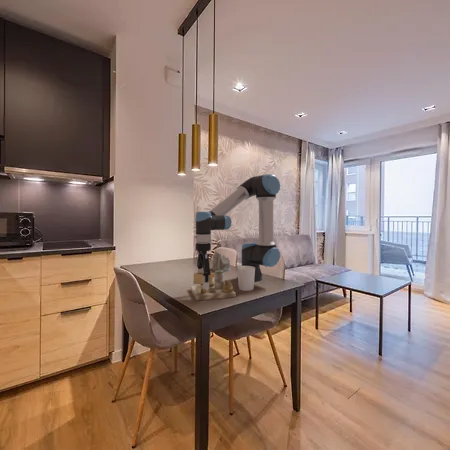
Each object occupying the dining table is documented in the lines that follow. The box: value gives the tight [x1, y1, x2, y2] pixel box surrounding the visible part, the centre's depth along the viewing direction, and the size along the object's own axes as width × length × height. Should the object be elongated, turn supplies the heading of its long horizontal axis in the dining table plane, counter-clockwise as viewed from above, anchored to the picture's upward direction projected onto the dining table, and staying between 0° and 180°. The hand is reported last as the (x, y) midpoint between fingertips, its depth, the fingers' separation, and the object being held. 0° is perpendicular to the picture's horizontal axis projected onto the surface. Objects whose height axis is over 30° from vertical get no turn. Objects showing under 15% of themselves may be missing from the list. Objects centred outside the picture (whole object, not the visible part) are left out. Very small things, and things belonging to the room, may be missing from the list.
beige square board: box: [190, 270, 237, 301], centre depth 134 cm, size 20×18×11 cm
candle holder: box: [237, 265, 255, 292], centre depth 141 cm, size 10×10×12 cm
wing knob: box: [193, 272, 215, 293], centre depth 127 cm, size 3×10×10 cm, turn 88°
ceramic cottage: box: [211, 249, 232, 273], centre depth 190 cm, size 16×16×15 cm
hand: (203, 284), depth 127 cm, fingers open, 13 cm apart
